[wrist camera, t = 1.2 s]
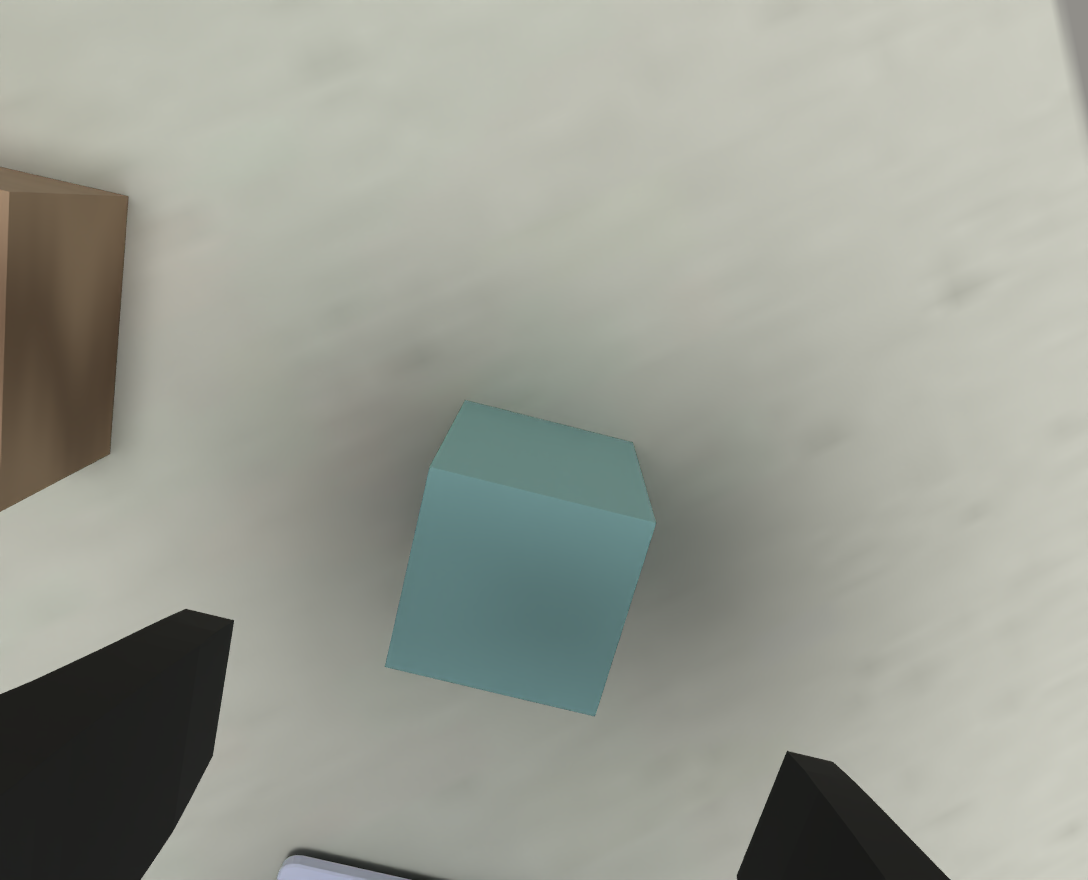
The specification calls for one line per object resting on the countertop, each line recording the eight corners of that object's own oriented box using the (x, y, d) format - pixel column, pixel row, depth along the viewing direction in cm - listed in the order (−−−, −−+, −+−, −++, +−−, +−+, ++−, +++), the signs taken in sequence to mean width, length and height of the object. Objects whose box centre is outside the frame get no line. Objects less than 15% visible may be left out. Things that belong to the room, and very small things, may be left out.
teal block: (587, 591, 19) (595, 716, 15) (429, 553, 19) (384, 667, 15) (632, 441, 18) (656, 523, 14) (465, 399, 18) (429, 467, 13)
